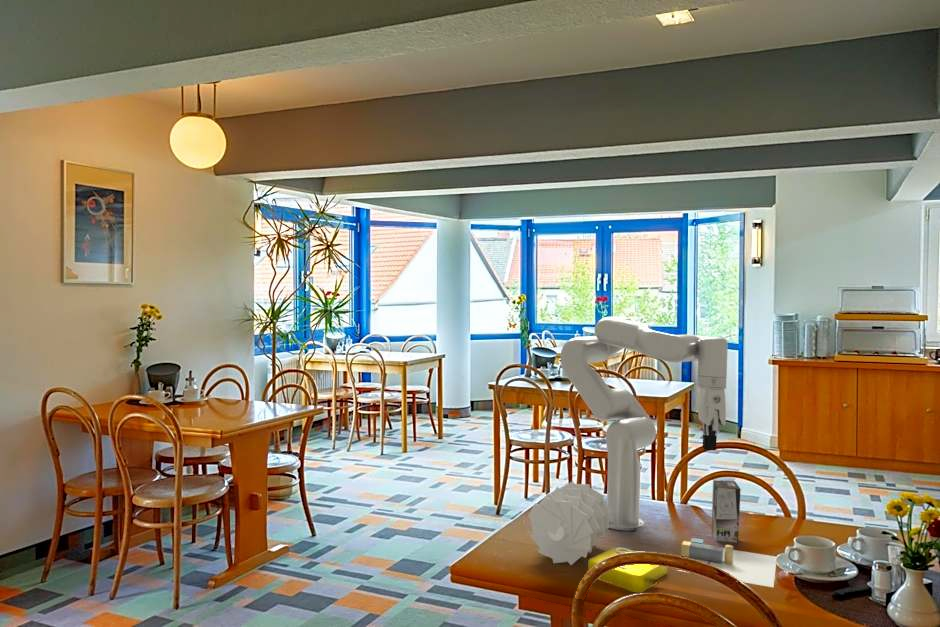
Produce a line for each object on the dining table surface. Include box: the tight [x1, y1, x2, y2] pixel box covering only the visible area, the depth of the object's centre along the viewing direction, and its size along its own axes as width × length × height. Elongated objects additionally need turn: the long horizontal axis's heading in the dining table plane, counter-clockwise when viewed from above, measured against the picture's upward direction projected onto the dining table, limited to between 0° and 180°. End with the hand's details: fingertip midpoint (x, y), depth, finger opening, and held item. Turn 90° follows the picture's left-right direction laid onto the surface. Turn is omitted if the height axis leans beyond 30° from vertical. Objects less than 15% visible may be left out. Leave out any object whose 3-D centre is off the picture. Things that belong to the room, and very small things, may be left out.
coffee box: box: [711, 479, 742, 543], centre depth 208 cm, size 9×6×16 cm
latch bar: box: [680, 540, 725, 563], centre depth 190 cm, size 10×3×3 cm, turn 63°
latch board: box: [676, 537, 777, 589], centre depth 187 cm, size 22×23×6 cm
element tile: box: [587, 546, 668, 593], centre depth 180 cm, size 15×15×5 cm
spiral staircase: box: [527, 480, 611, 566], centre depth 195 cm, size 18×18×25 cm
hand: (709, 449), depth 201 cm, fingers closed
